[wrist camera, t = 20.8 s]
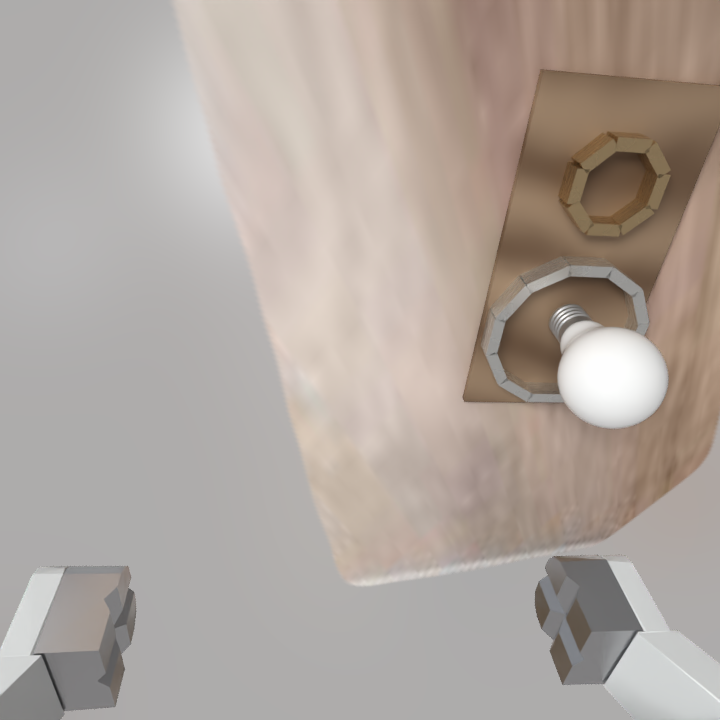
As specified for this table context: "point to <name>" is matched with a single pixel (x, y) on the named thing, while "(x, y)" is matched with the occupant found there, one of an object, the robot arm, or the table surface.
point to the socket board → (601, 195)
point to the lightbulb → (607, 370)
